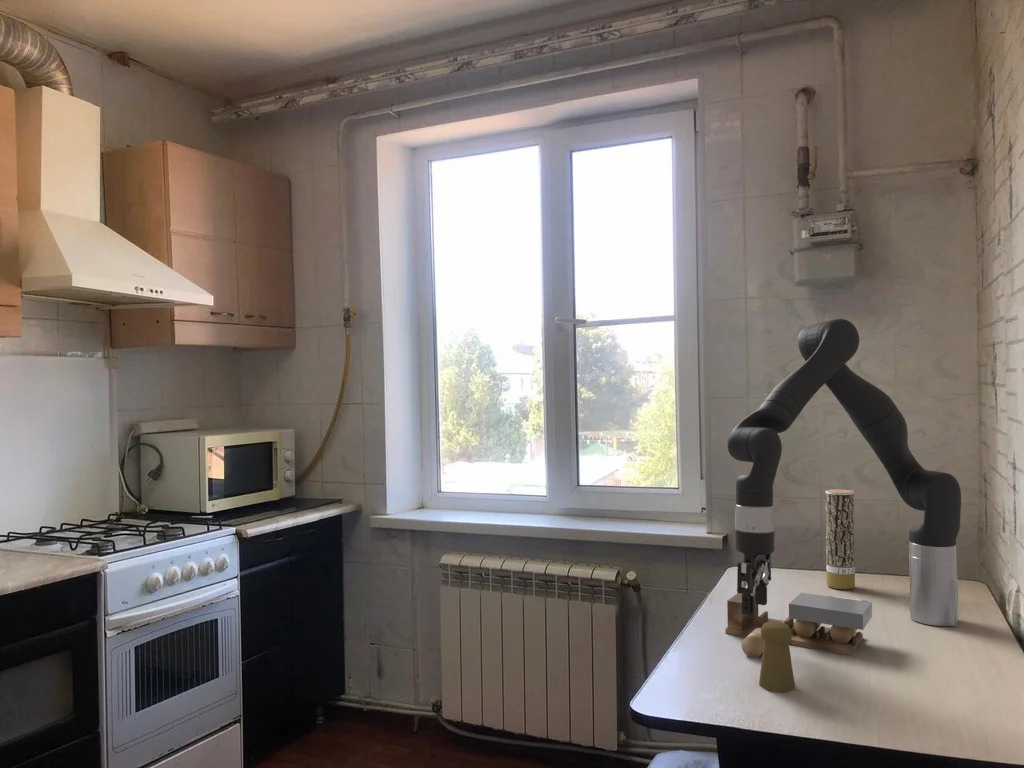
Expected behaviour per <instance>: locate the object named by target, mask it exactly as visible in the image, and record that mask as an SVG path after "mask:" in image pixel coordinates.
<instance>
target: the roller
mask: <svg viewBox="0 0 1024 768" xmlns="http://www.w3.org/2000/svg"><path fill="white" fill-rule="evenodd" d="M763 647H764V640H763V639H762V636H761V628H757V629H755V630H754V631H753V632H752V633H750V634H749V635H748V636H747V637H744V639H743V640H742V641H741V650H742V652H743V653H744V655H745V656H747V657H749V658H753V657H754V659H756V658H759V657H760V656H762V655H763Z"/></svg>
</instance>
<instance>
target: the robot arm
mask: <svg viewBox="0 0 1024 768" xmlns="http://www.w3.org/2000/svg"><path fill="white" fill-rule="evenodd" d="M797 345H798V346H797V347H798V350H799V352H800V354H801V357H802V358H803V360H804V363H802V365H800V366H799V367H798V368H796V369H795V370H794V371H792V373H790V374H788V375H787V376H786V377H785V378H784V379H782V380H781V381H780V382H779V383H778V384H777V385H776V386H775V387H774V388H773V389H772V390H771V392H769V394H768V395H767V396H766V398H765V399H764V400H763V402H762V404H761V405H760V406H759V407H758V408H757V409H756V410H754V411H753V412H751V413H750V414H748V415H747V416H746V417H744V419H742V420H741V421H740V422H739V423H738V424H737V425H736V426H735V427H734V428H733V429H732V430H731V432H730V434H729V436H728V438H727V444H726V445H727V451H728V453H729V455H730V456H731V457H732V458H733V459H735V460H736V461H739V462H744V463H746V462H747V463H752V466H751V467H752V468H751V470H750V472H749V473H745V474H741V475H739V476H738V477H737V478H736V483H735V511H734V549H735V551H737V552H739V553H741V554H743V560H742V561H738V562H737V571H736V575H737V577H736V578H737V579H736V581H737V583H736V591H737V592H736V594H737V593H740V594H741V595H742V613H743V614H745V615H753V614H754V594H755V603H756V604H758V606H759V605H760V606H766V605H767V603H768V586H769V584H770V582H771V580H772V562H771V561H772V557H771V556H772V554H773V553H774V552H775V549H776V548H775V547H776V546H775V513H774V483H775V478H776V475H777V472H778V468H779V464H780V460H781V457H782V452H783V451H782V450H783V447H782V445H783V444H782V441H781V438H780V435H779V434H781V433H784V432H786V431H787V430H789V428H790V427H791V426H792V425H793V424H794V422H795V420H796V419H797V418H798V416H799V415H800V414H801V412H802V411H803V410H804V408H805V407H806V406H807V404H808V403H809V402H810V400H811V399H812V398H813V397H814V396H815V394H817V393H818V391H819V390H820V389H821V388H822V387H823V386H824V385H825V386H826V387H827V388H828V389H829V391H831V393H832V394H833V396H834V397H835V399H836V400H837V401H838V403H840V405H841V406H842V408H843V409H844V410H845V412H846V413H847V415H848V416H849V417H850V419H851V421H852V423H853V424H854V426H855V427H856V428H857V430H858V431H859V433H860V435H861V436H862V437H863V438H864V439H865V441H866V442H867V444H868V445H869V446H870V448H871V449H872V450H873V452H874V453H875V455H876V457H877V458H878V459H879V461H880V462H881V464H882V465H883V467H884V469H885V470H886V472H887V474H888V476H889V477H890V479H891V481H892V483H893V485H894V487H895V489H896V491H897V492H898V495H900V498H901V499H902V500H903V502H904V503H905V504H906V505H907V506H908V507H910V508H912V509H914V510H916V511H922V512H924V514H923V515H924V516H923V517H924V518H923V522H922V523H921V524H920V525H919V526H918V525H916V526H914V527H911V528H910V530H909V531H908V554H909V555H908V559H909V561H908V562H909V564H908V565H909V567H908V568H909V615H910V617H909V618H910V619H911V620H912V621H915V622H918V623H919V624H920V623H921V624H924V625H928V626H930V625H931V626H936V627H937V626H939V627H957V625H958V622H959V577H958V575H957V573H958V572H957V570H958V569H957V568H958V567H957V566H958V565H957V538H958V535H959V532H960V529H961V516H962V515H961V513H962V509H961V508H962V491H961V490H962V489H961V486H960V484H959V481H958V480H957V477H955V476H954V475H952V474H950V473H947V472H944V471H936V470H928V469H925V468H924V467H923V466H922V465H921V463H919V462H918V461H917V459H916V458H915V456H914V454H913V453H912V452H911V450H910V447H909V443H908V442H909V440H908V439H909V438H908V437H909V436H908V434H909V433H908V425H907V421H906V420H905V417H904V416H903V414H902V412H901V410H899V407H897V405H896V404H895V402H894V401H893V399H892V398H891V397H890V396H889V395H888V394H887V393H886V392H885V391H883V390H882V389H881V388H879V387H877V386H876V385H874V384H873V383H871V382H870V381H868V380H866V379H864V378H862V376H860V375H858V374H857V373H855V372H854V371H853V370H852V369H850V367H849V366H848V365H847V363H848V362H849V361H850V360H851V359H852V357H854V356H855V354H856V353H857V351H858V349H859V346H860V335H859V332H858V330H857V328H856V326H855V325H854V324H853V323H852V321H849V320H848V319H843V318H833V319H830V320H825V321H822V322H819V323H815V324H811V325H808V326H806V327H804V328H802V329H801V331H800V332H799V334H798V336H797ZM746 586H747V587H746Z"/></svg>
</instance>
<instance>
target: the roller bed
mask: <svg viewBox="0 0 1024 768" xmlns="http://www.w3.org/2000/svg"><path fill="white" fill-rule="evenodd" d="M726 601H727V603H726V604H727V605H726V607H727V609H726V610H727V613H726V614H727V616H726V617H727V626H726V627H725V628H724V630H725V631H724V632H725V634H729V635H733V636H739V637H744V638H746V637H747V636H748V635H749V634H750V633H752V632H753V631H754V630H755V629H757V628H761V627H762V626H763V624H764V623H766V622H770V621H776V622H782V623H785V624H787V625H788V626H789V627H790V629H791V631H792V638H791V641H790V642H789V646H790V645H791V646H797V647H802V646H803V648H807V647H809V648H808V649H814V650H820V651H826V652H832V653H836V654H843V655H849V656H852V655H853V654H854V652H855V650H856V649H857V647H859V646H858V645H860V643H861V641H862V640H863V639H864V638H863V637H864V636H863V635H864V634H863V632H860V631H857V630H858V629H854V628H847V627H841V626H835V625H831V627H826V626H823V625H822V623H815V622H809V621H803V620H796V619H790V618H789V616H788V617H786V619H785V620H782V619H775V618H769V612H768V611H766V610H765V611H763V612H762V613H761V614H760V615H759V604H756V603H755V594H754V614H753V615H745V614H743V613H742V595H741V594H740V593H737V592H736V593H735V594H734V595H733V596H732V597H730V598H729V599H728V600H726ZM794 620H795V621H794ZM821 625H822V626H821Z"/></svg>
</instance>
